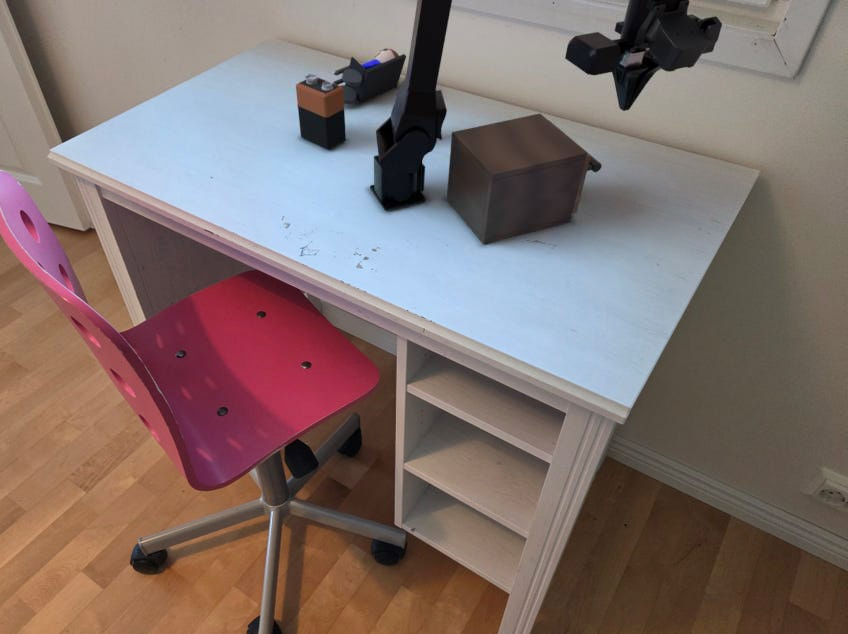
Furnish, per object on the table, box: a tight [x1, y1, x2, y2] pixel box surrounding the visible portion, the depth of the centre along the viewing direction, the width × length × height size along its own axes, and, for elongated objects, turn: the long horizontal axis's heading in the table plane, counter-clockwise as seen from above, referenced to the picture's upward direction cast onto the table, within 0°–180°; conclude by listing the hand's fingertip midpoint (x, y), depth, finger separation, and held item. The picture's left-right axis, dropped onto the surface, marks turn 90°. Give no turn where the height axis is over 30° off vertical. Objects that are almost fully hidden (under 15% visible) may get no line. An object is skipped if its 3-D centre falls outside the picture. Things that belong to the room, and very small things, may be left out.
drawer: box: [549, 120, 603, 214], centre depth 90 cm, size 17×10×9 cm, turn 111°
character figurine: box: [332, 48, 407, 105], centre depth 116 cm, size 8×7×15 cm
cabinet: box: [446, 113, 588, 245], centre depth 89 cm, size 14×12×11 cm
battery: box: [295, 73, 347, 150], centre depth 104 cm, size 4×7×10 cm, turn 48°
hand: (623, 109), depth 88 cm, fingers closed
